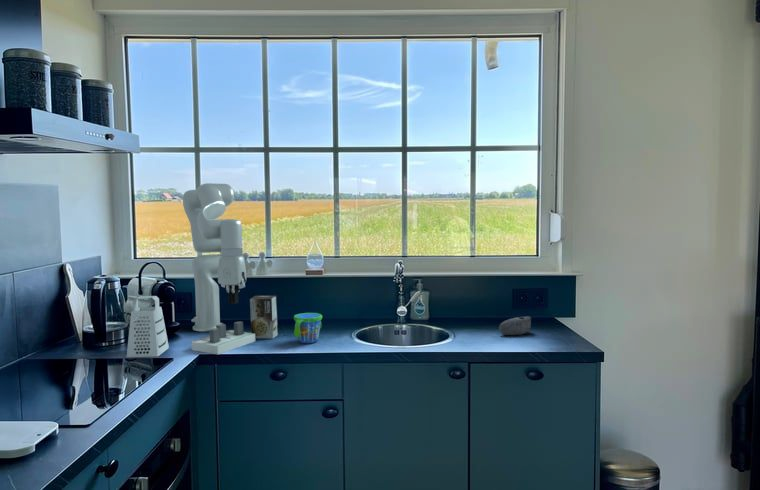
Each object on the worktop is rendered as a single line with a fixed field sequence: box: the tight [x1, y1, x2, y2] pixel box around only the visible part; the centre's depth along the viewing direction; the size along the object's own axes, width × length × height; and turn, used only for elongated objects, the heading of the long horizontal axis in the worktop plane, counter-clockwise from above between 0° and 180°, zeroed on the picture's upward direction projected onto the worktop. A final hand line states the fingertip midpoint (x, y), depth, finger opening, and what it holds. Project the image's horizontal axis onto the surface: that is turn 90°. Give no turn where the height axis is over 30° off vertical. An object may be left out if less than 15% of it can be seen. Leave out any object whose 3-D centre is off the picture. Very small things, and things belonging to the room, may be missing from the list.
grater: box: [126, 295, 170, 358], centre depth 170 cm, size 10×10×20 cm
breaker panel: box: [191, 329, 256, 355], centre depth 178 cm, size 13×19×3 cm
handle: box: [208, 328, 221, 343], centre depth 172 cm, size 3×3×4 cm
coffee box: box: [249, 295, 278, 339], centre depth 190 cm, size 9×6×16 cm
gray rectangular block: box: [233, 321, 245, 335], centre depth 183 cm, size 3×3×4 cm
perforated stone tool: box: [498, 315, 532, 336], centre depth 191 cm, size 15×5×7 cm, turn 106°
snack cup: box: [293, 312, 323, 344], centre depth 183 cm, size 16×10×10 cm
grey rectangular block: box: [216, 323, 227, 338], centre depth 179 cm, size 3×3×4 cm
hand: (233, 303), depth 175 cm, fingers closed
